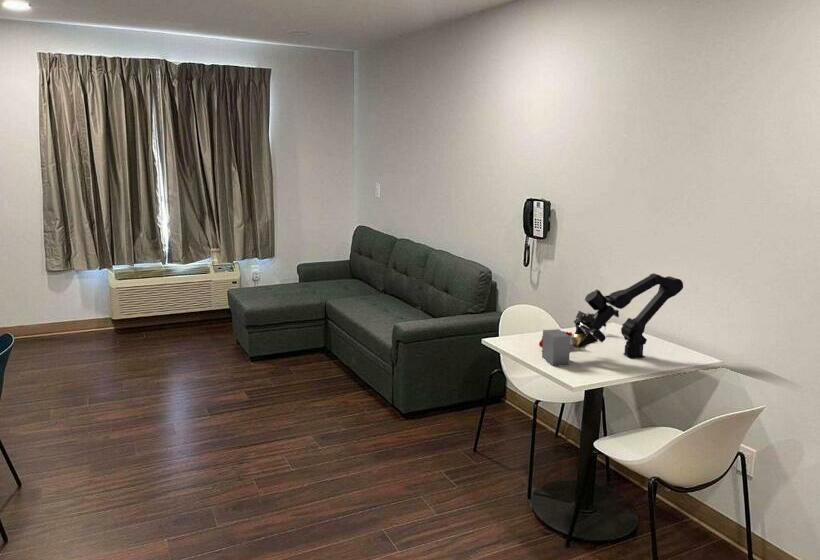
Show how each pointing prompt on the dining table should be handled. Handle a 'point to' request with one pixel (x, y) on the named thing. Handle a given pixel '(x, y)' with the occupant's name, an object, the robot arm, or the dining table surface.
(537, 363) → the dining table surface
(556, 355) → the housing
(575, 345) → the gold cylindrical piece
